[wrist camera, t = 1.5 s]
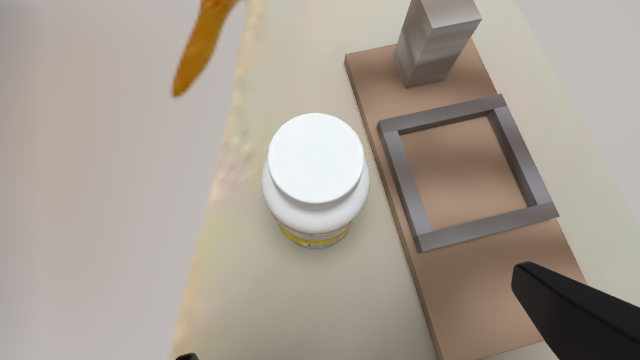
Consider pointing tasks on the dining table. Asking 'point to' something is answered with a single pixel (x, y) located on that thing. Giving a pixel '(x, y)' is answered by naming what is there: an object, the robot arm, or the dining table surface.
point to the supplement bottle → (315, 179)
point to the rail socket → (457, 180)
